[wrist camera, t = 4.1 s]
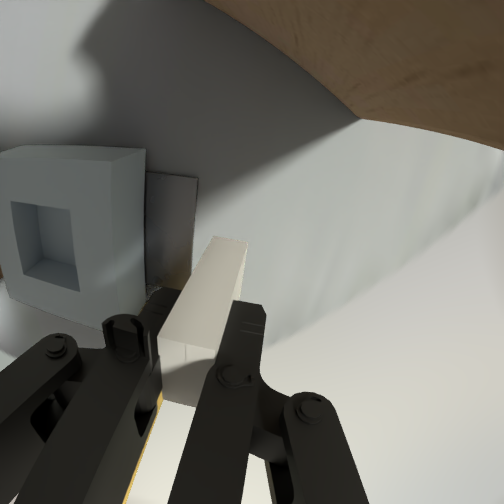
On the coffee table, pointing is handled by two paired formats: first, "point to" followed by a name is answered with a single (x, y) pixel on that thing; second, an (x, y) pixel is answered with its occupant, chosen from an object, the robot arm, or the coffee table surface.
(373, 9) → the decorative block
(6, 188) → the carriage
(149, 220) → the dark grey flat board
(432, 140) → the coffee table surface
